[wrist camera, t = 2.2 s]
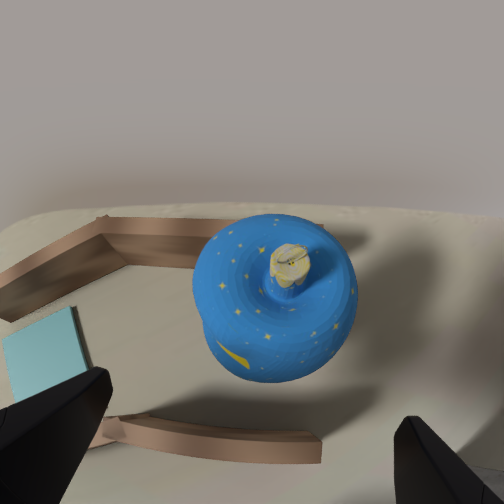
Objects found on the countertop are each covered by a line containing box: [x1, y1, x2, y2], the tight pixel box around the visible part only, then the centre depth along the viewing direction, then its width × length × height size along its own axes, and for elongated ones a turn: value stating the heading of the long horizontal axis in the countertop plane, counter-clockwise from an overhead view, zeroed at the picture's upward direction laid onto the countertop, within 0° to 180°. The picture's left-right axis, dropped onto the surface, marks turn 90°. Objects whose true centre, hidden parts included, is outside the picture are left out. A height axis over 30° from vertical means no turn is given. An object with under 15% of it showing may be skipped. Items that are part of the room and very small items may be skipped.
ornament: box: [193, 214, 358, 383], centre depth 13 cm, size 5×5×15 cm
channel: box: [0, 215, 324, 464], centre depth 18 cm, size 25×26×5 cm
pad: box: [2, 306, 89, 403], centre depth 19 cm, size 8×8×1 cm
